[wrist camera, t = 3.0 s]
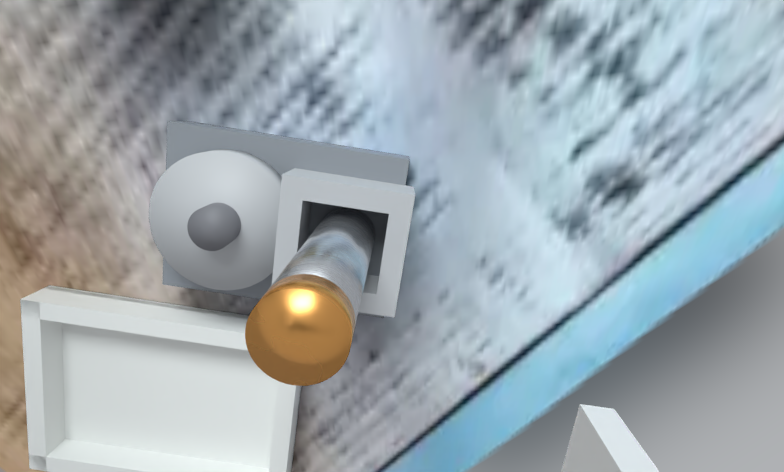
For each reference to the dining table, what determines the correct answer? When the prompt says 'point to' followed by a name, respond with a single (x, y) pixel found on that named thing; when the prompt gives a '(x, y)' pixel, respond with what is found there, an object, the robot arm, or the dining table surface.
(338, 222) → the pin
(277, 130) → the dining table surface
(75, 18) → the dining table surface
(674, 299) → the dining table surface
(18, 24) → the dining table surface
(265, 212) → the tensioner block
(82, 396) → the tray
